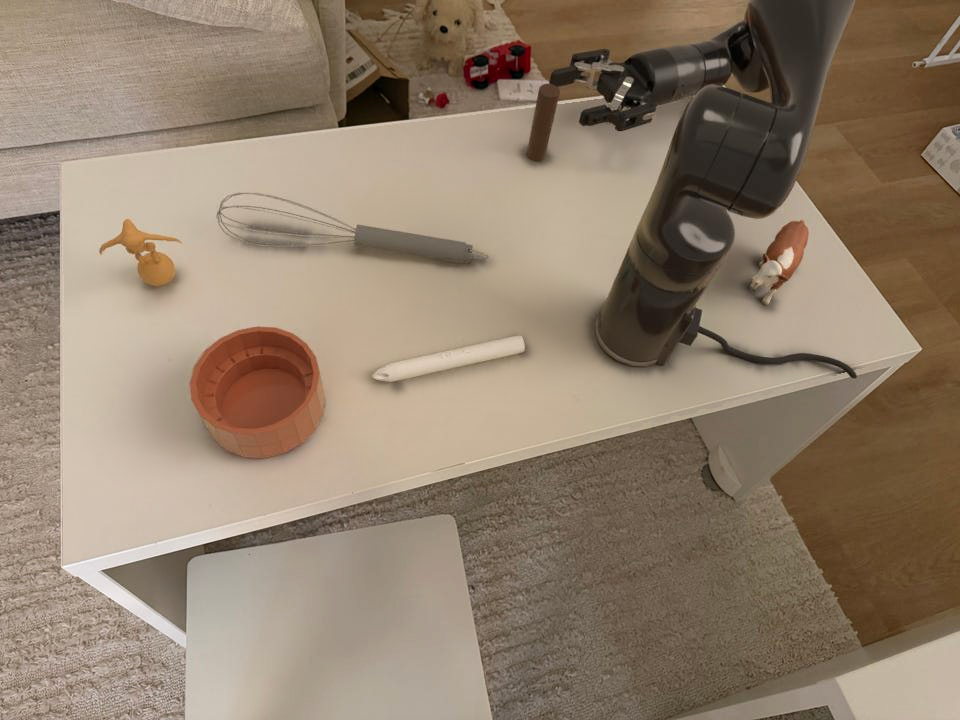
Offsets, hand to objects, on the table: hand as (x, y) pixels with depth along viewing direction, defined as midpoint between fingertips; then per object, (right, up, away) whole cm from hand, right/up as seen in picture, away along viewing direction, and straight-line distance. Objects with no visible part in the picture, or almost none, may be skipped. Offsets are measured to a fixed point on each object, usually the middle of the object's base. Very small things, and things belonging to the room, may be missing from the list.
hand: (566, 98), depth 91 cm
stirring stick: (-4, -6, +7) cm, 9 cm away
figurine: (-50, -27, -11) cm, 58 cm away
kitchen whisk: (-28, -21, -5) cm, 35 cm away
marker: (-15, -36, -13) cm, 42 cm away
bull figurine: (+26, -26, -2) cm, 36 cm away
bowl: (-35, -41, -19) cm, 57 cm away
